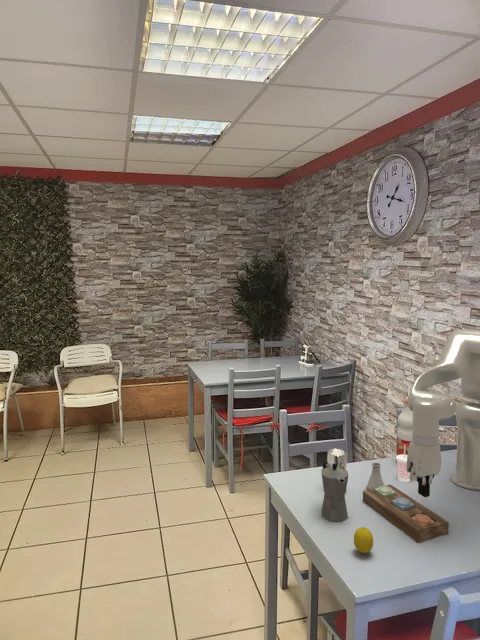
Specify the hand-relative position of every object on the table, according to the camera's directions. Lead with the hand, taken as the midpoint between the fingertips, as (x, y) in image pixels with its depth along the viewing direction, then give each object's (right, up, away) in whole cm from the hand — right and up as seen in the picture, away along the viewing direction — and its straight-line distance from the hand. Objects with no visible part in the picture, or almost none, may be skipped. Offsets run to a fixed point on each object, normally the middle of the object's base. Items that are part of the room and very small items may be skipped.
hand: (423, 494), depth 142 cm
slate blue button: (-3, -8, +9) cm, 13 cm away
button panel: (-3, -11, +10) cm, 15 cm away
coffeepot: (-26, -11, +12) cm, 31 cm away
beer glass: (-21, -9, +28) cm, 37 cm away
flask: (-6, -9, +29) cm, 31 cm away
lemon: (-21, -14, -9) cm, 27 cm away
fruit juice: (+13, -6, +49) cm, 51 cm away
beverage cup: (+7, -8, +36) cm, 37 cm away
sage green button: (-7, -8, +18) cm, 20 cm away
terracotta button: (0, -11, +1) cm, 11 cm away
